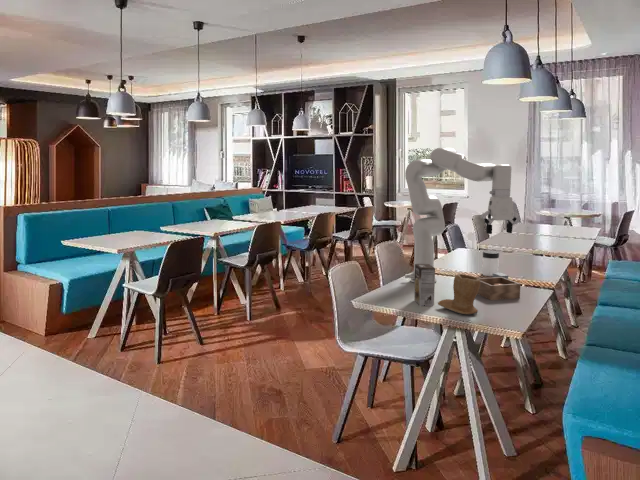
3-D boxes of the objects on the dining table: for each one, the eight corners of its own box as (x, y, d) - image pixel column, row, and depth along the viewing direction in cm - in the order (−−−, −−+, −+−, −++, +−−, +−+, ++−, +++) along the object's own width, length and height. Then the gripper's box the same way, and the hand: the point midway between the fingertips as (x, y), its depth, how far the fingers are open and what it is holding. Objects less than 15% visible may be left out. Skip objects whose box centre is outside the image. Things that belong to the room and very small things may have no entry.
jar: (501, 275, 281) (503, 252, 280) (493, 277, 276) (494, 254, 274) (487, 272, 288) (487, 250, 286) (478, 274, 283) (478, 251, 281)
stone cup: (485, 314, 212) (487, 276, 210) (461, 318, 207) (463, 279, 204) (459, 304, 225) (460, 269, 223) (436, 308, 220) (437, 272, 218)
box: (490, 301, 229) (491, 285, 228) (473, 294, 243) (474, 278, 242) (519, 299, 233) (520, 283, 231) (501, 291, 246) (502, 276, 245)
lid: (494, 291, 250) (495, 278, 249) (477, 283, 265) (478, 272, 264) (523, 289, 254) (523, 276, 253) (504, 282, 268) (505, 270, 267)
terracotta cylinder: (497, 294, 239) (497, 285, 238) (492, 292, 242) (492, 283, 242) (505, 293, 240) (505, 284, 239) (500, 291, 243) (500, 282, 243)
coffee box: (413, 300, 232) (414, 263, 230) (428, 299, 233) (429, 263, 230) (419, 306, 223) (420, 267, 221) (434, 305, 224) (435, 267, 221)
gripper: (487, 194, 225) (485, 235, 228) (524, 193, 229) (521, 233, 232) (478, 193, 232) (476, 232, 235) (513, 192, 236) (511, 231, 239)
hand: (499, 233), depth 233 cm, fingers open, 9 cm apart
